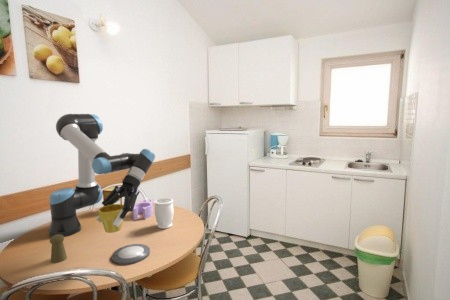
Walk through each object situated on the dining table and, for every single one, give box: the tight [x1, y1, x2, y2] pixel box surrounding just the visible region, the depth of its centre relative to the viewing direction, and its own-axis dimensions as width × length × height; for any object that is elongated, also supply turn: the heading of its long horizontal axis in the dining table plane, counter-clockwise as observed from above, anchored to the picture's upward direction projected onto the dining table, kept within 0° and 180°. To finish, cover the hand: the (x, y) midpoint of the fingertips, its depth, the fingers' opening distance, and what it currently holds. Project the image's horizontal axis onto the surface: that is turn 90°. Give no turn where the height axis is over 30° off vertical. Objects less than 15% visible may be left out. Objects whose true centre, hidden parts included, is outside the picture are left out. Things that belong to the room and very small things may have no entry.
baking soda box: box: [102, 186, 123, 205], centre depth 174 cm, size 10×6×16 cm
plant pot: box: [97, 204, 124, 234], centre depth 112 cm, size 10×10×10 cm
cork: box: [49, 234, 68, 264], centre depth 114 cm, size 6×6×11 cm
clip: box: [132, 198, 154, 220], centre depth 169 cm, size 20×12×7 cm, turn 1°
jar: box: [153, 197, 175, 230], centre depth 148 cm, size 11×10×15 cm
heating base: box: [111, 243, 151, 266], centre depth 117 cm, size 16×16×1 cm
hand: (106, 223), depth 109 cm, fingers closed on plant pot, 10 cm apart
